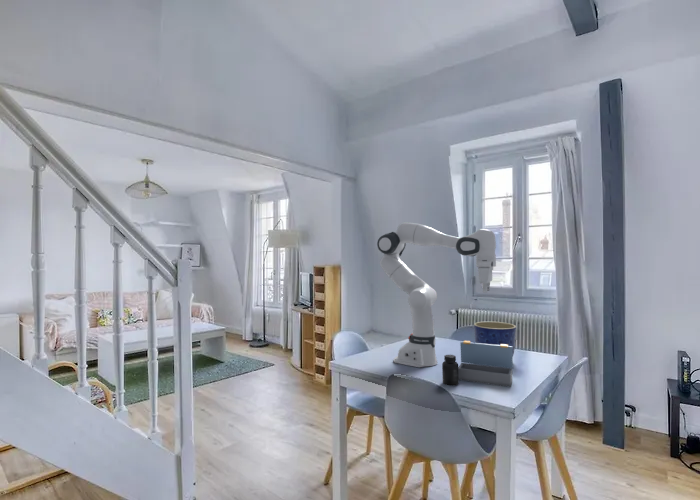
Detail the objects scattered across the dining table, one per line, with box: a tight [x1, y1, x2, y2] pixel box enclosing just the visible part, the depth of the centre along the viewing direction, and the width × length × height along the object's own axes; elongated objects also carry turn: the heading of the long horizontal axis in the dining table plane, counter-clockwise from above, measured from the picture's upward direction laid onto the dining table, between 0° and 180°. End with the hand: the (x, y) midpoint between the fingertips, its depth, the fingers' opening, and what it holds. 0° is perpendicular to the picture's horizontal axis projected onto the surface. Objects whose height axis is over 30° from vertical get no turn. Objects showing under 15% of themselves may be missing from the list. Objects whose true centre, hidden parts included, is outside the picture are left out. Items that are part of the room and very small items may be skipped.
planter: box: [473, 321, 517, 356], centre depth 203 cm, size 21×21×19 cm
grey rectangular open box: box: [458, 362, 513, 388], centre depth 174 cm, size 22×10×5 cm, turn 64°
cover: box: [459, 340, 514, 369], centre depth 177 cm, size 22×11×3 cm
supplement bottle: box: [441, 354, 460, 387], centre depth 169 cm, size 7×7×12 cm
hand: (486, 291), depth 187 cm, fingers open, 8 cm apart
